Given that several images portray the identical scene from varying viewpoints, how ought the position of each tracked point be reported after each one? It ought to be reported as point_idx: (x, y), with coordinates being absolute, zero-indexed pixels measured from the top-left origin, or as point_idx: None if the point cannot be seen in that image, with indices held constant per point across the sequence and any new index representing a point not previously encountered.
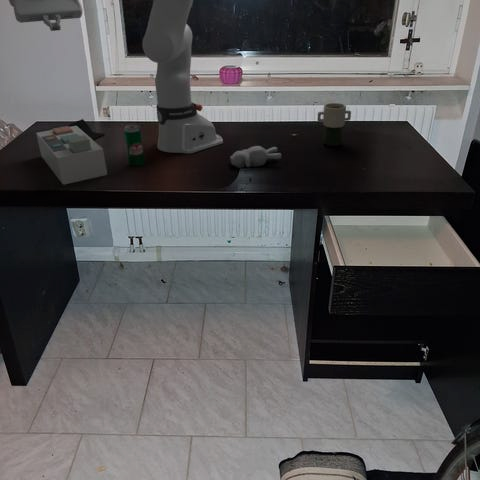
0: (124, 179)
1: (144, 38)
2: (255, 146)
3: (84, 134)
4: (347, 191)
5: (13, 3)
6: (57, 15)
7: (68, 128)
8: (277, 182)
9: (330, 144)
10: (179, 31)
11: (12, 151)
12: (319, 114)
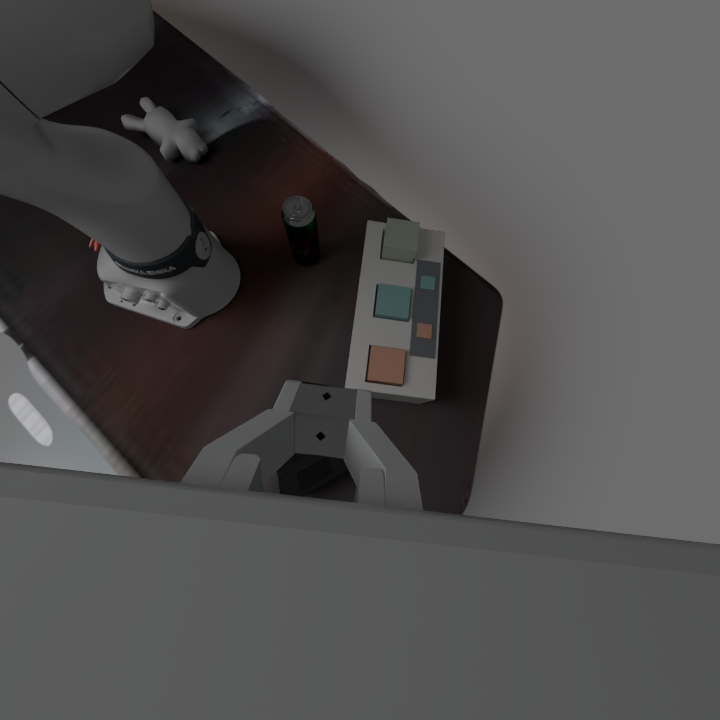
0: (352, 219)
1: None
2: (150, 124)
3: (358, 316)
4: (171, 29)
5: None
6: (224, 476)
7: (374, 359)
8: (207, 89)
9: None
10: None
11: (458, 478)
12: None
